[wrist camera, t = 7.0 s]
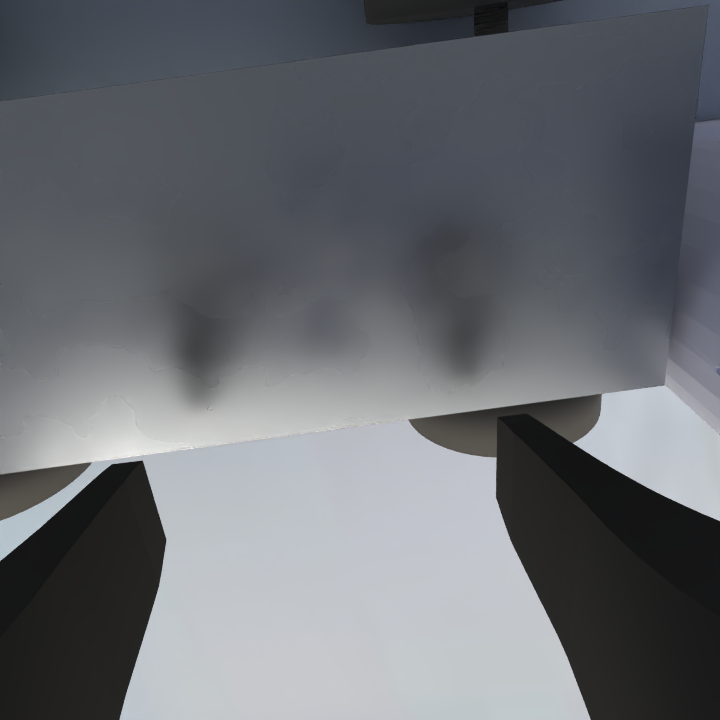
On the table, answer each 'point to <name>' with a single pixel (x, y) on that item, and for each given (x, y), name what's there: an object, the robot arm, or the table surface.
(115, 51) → the table surface
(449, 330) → the trolley
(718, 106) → the table surface
